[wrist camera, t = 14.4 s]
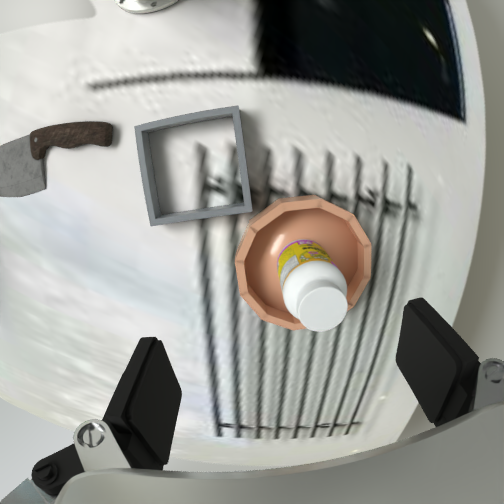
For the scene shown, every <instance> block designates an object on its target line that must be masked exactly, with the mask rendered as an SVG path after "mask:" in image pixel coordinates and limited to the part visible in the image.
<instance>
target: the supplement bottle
mask: <svg viewBox="0 0 504 504" xmlns="http://www.w3.org/2000/svg"><path fill="white" fill-rule="evenodd" d="M277 271H278V276H279V280H280V285H281V289H282V294H283V299H284V303H285V305H286V307H287V309H288V311H289V312H290V313H291V314H292V315H293V316H294V317H296V318H297V319H299V320H300V322H301V323H302V324H303V325H304V326H305V327H306V328H308V329H310V330H312V331H318V332H321V331H327V330H330V329H332V328H334V327H336V326H337V325H338V324H339V323H340V322H341V321H342V320H343V319H344V317H345V315H346V313H347V309H348V303H347V299H346V295H347V284H346V280H345V278H344V276H343V274H342V273H341V271H340V270H339V269H338V268H337V266H336V265H335V263H334V262H333V261H332V259H331V258H330V257H329V255H328V254H327V253H326V251H325V250H324V249H323V247H322V246H321V245H319V244H318V243H317V242H315V241H313V240H309V239H298V240H294V241H292V242H290V243H288V244H287V245H286V246H285V247H284V248H283V249H282V250H281V252H280V254H279V256H278V259H277Z"/></svg>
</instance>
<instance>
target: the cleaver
mask: <svg viewBox="0 0 504 504" xmlns="http://www.w3.org/2000/svg"><path fill="white" fill-rule="evenodd" d="M112 131H113V128H112V125H111V124H110V123H106V122H73V123H65V124H58V125H52V126H48V127H44V128H40V129H37V130H35V131H32V132H31V133H30V135H27V136H25V137H22V138H19V139H16V140H14V141H11V142H8V143H6V144H3V145H1V146H0V197H23V196H26V195H30V194H32V193H35V192H38V191H41V190H43V189H45V172H44V160H43V158H44V157H45V153H46V149H47V148H48V147H49V146H58V147H61V148H68V149H70V148H75V147H78V146H80V145H83V144H94V145H99V146H106V147H107V146H109V145H110V144H111V141H112Z"/></svg>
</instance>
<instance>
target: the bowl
mask: <svg viewBox="0 0 504 504" xmlns="http://www.w3.org/2000/svg"><path fill="white" fill-rule="evenodd" d="M298 239H309V240H313V241H315V242H317V243H318V244H319V245H321V246H322V247H323V249H324V250H325V251H326V253H327V254H328V255H329V257H330V258H331V259H332V261H333V262H334V263H335V265H336V266H337V268H338V269H339V270H340V271H341V273H342V274H343V276H344V278H345V280H346V284H347V295H346V299H347V303H348V309H347V311H348V310H350V309H351V308H353V307H354V306H355V304H356V302H357V301H358V299H359V297H360V295H361V294H362V292H363V290H364V288H365V287H366V285H367V283H368V281H369V280H370V278H371V243H370V241H369V239H368V237H367V236H366V234H365V232H364V231H363V229H362V227H361V226H360V224H359V222H358V221H357V219H356V217H355V216H354V214H352V213H350V212H349V211H347V210H345V209H343V208H341V207H339V206H337V205H335V204H333V203H331V202H329V201H327V200H324V199H322V198H320V197H318V196H316V195H307V196H298V197H288V198H279V199H278V200H276V201H275V202H273V203H272V204H271V205H269V206H268V207H267V208H265V209H264V210H263V211H261V212H260V213H259V214H257V215H256V216H254V217H253V218H252V219H250V220H249V223H248V225H247V227H246V230H245V232H244V235H243V237H242V239H241V242H240V244H239V246H238V249H237V251H236V256H235V265H236V272H237V278H238V284H239V290H240V295H241V297H242V298H243V299H244V300H245V301H246V302H247V303H248V305H249V306H250V307H251V308H252V309H253V310H254V311H255V312H256V314H257V315H258V316H259V317H260V318H261V319H262V320H264V321H267V322H270V323H273V324H276V325H279V326H282V327H285V328H288V329H291V330H298V329H305V328H306V327H305V326H304V325H303V324H302V323H301V322H300V320H299V319H297V318H296V317H294V316H293V315H292V314H291V313H290V312H289V311H288V309H287V307H286V305H285V303H284V299H283V294H282V289H281V285H280V280H279V276H278V271H277V259H278V256H279V254H280V252H281V250H282V249H283V248H284V247H285V246H286V245H287V244H288V243H290V242H292V241H294V240H298Z"/></svg>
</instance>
